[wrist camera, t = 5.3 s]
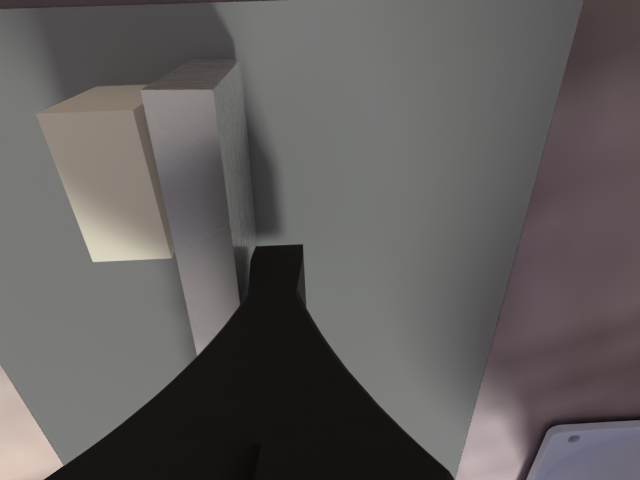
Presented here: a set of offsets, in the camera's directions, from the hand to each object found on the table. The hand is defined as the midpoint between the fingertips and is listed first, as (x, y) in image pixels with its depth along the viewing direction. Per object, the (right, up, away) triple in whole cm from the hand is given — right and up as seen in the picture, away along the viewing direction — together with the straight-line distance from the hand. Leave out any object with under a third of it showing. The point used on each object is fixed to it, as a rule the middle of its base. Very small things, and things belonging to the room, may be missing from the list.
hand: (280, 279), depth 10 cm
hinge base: (-1, -3, +5) cm, 6 cm away
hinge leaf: (-1, 0, +1) cm, 2 cm away
